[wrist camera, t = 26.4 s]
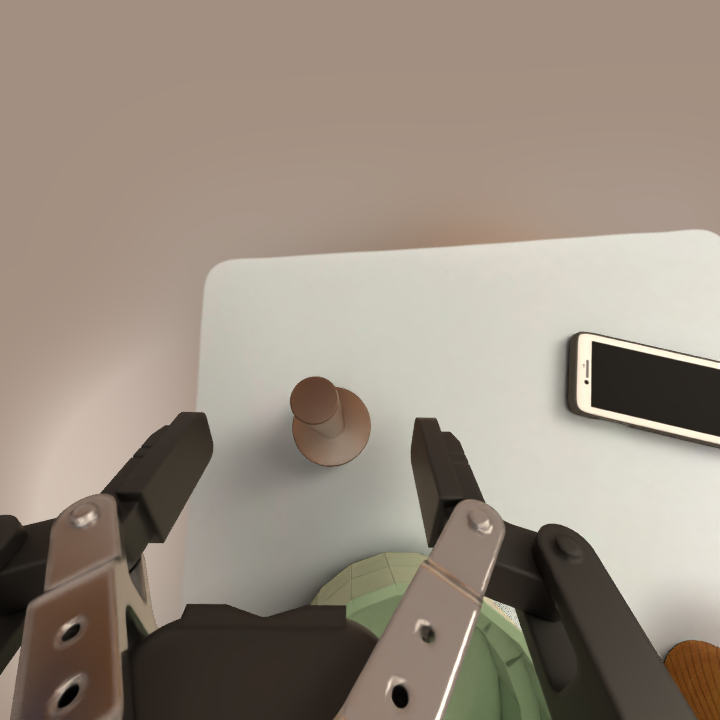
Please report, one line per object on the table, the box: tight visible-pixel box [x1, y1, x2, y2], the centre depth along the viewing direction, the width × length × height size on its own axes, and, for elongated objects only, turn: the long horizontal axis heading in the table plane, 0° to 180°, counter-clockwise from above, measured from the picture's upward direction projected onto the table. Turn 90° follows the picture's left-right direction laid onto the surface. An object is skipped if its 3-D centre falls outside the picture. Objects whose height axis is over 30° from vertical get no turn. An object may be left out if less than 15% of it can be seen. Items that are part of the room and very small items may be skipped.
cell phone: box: [568, 332, 720, 448], centre depth 27 cm, size 8×15×1 cm, turn 77°
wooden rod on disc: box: [290, 377, 371, 466], centre depth 19 cm, size 6×6×14 cm
